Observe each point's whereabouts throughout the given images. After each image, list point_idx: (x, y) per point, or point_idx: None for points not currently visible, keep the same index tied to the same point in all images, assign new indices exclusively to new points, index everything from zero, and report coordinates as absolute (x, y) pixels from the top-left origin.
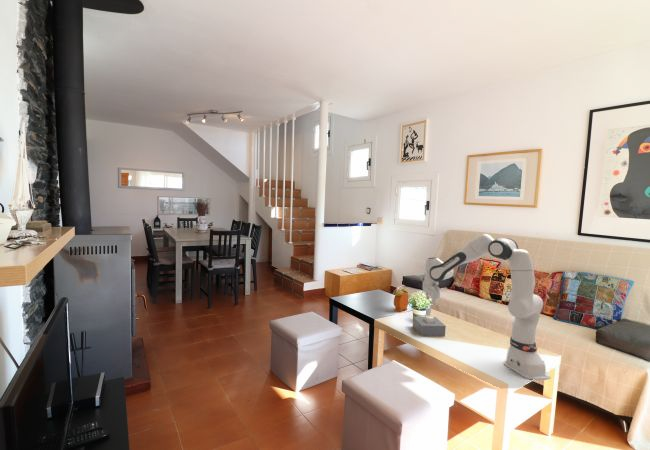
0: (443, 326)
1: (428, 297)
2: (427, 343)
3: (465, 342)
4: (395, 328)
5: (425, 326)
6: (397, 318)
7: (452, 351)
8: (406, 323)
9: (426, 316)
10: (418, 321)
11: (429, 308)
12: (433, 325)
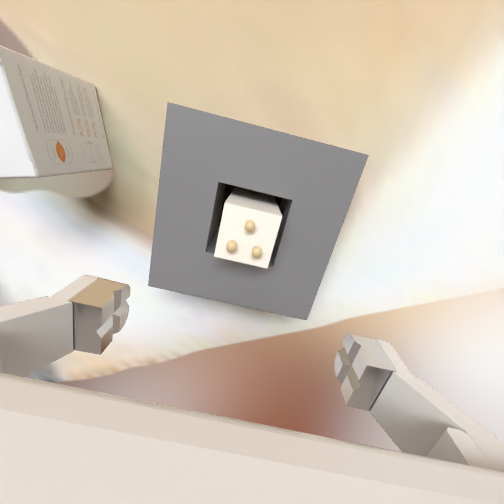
0: (360, 174)
1: (107, 319)
2: (374, 305)
3: (467, 78)
4: (183, 349)
5: (312, 298)
6: (46, 275)
7: (496, 246)
8: (123, 267)
9: (230, 253)
10: (235, 300)
11: (8, 69)
12: (326, 246)
